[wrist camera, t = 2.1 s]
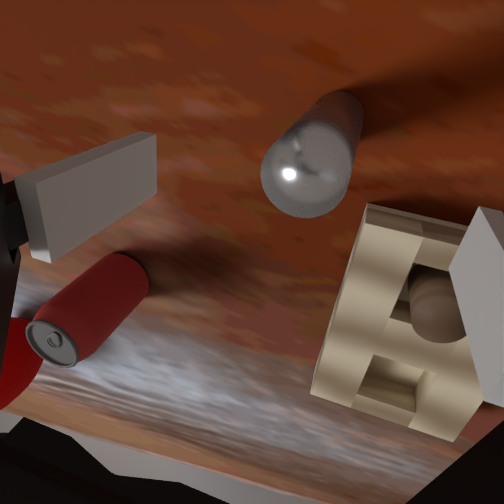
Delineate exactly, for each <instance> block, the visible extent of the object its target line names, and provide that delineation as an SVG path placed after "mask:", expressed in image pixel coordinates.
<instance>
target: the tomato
mask: <svg viewBox="0 0 504 504" xmlns="http://www.w3.org/2000/svg"><path fill="white" fill-rule="evenodd" d="M30 322H32V321H31V320H27V319H22V318H13V317H11V319H10V325H9V331H8V337H7V343H6V349H5V354H4V360H3V366H2V372H1V378H0V410H1V409H3V408H4V407H6V406H7V405H8V404H10V403H11V402H12V401H13V400H14V399H15V398H16V397H18V396H19V395H20V394H21V393H22V392H23V391H24V390H25V389H26V388H27V387H28V385H29V384H30V383H31V382H32V380H33V379H34V377H35V376H36V374H37V372H38V370H39V368H40V367H41V365H42V363H43V360H44V359H43V358H42V357H40V356H39V355H38V354H37V353H36V352H35V351H34V350H33V349H32V347H31V346H30V344H29V342H28V340H27V337H26V327H27V325H28V324H29V323H30Z"/></svg>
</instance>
